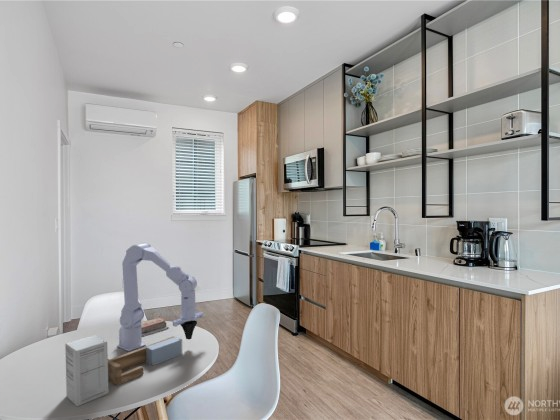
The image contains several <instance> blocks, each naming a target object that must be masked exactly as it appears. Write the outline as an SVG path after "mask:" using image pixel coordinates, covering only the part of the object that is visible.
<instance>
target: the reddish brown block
mask: <svg viewBox="0 0 560 420" xmlns="http://www.w3.org/2000/svg"><path fill="white" fill-rule="evenodd" d="M169 328H170V327H169V326H167V322H166V319H165V318H162V317H156V318H152V319H150V320H145V321H141V337H145V336H149V335H152V334H155V333H159V332H161V331H165V330H168V329H169Z"/></svg>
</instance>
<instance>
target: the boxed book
mask: <svg viewBox="0 0 560 420" xmlns="http://www.w3.org/2000/svg"><path fill="white" fill-rule="evenodd" d="M156 343H157V342H156ZM153 344H154V343H153ZM150 345H151V344H150ZM147 346H148V345H147ZM145 347H146V346H145ZM182 354H183V339H182V338H180V337H177V336H174V338H171V339H168V340H166V341H163V342H160V343H157V344H154V345H151V346H148V347H146V361H145V362H146V363H147V364H148V365H150V366H155V365H157V364H160V363H162V362H165V361H168V360H170V359H172V358H176V357H178V356H181V355H182Z"/></svg>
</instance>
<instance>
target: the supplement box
mask: <svg viewBox="0 0 560 420" xmlns="http://www.w3.org/2000/svg"><path fill="white" fill-rule="evenodd" d="M64 345H65V350H64V351H65V381H66V382H65V384H66V386H65V387H66V388H65V389H66V390H65V391H66V393H65V395H66V398H67V399H68V400H70V401H71V402H72V403H73V404H74V405H75V406H76V407H79V406H82V405H84V404H87V403H90V402H91V401H93V400H96V399H98V398H101V397H103V396H106V395H108V394H109V381H108V359H109V357H108V356H109V355H108V341H107V340H106V339H104V338H102V337H100V336H98V335H97V334H94V335H90V336H87V337H83V338H80V339H76V340H74V341H70V342H67V343H65V344H64Z"/></svg>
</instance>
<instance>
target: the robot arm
mask: <svg viewBox="0 0 560 420" xmlns="http://www.w3.org/2000/svg"><path fill="white" fill-rule="evenodd" d="M142 261H148V262H149V261H150V262H152V263H154V264H155V265H156V266H158V268H161V270H163V271H164V272H165V273H166V277H167V278H168V279H169V280H171V281H172V282H173V283H174V284H176V286H177V287H178V290H179V291H180V297H181V299H180V301H181V302H180V303H181V304H180V305H181V307H180V308H181V311H180V312H181V313H180V314H181V315H180V317H178V318H177V319H175V320H173V321H172V327H175V328H176V327H178V326H180V327H181V328H182V329H183V332H184V336H185V339H186V340H191V339H192V337H193V333H194V330H195V328H196V326H197V325H198V322H197V320H198V319H202V318H204V312H202V311H200V312H196V287H197V285H198V282H197V279H196V278H195V277H194V276H192V275H191V276H190V274H188V273H187V274H186V272H185V271H183V270H182V267H181V266H177V265H172V264H171V263H170V262H168V260H166V259H165V258H164V257H163V256H162V255H161V254H160V253H159V252H158V251H157V250H156V248H155V247H153V246H151V244H149V243H147V242H143V243H140V244H133V245H131V246H130V247H129V248H127V249H126V251H125V256H124V258H123V260H122V264H121V265H122V277H123V278H122V281H123V283H122V284H123V295H124V296H123V298H124V300H123V301H124V305H123V306H122V309H121V313H120V317H119V324H120V325H121V326H120V328H119V329H118V330H119V331H118V344H116V346H117V347H118V348H119V349H123V350H124V351H127V352H132V351H135V350H137V349H140V348H143V347H146V346H147V343H144V342H142V341H143V340H142V338H143V336H141V322H142V320H143V319H144V317H145V311H144V310H143V306H142V303H141V302H139V291H138V290H139V287H138V271H137V265H139V264H140V263H141V262H142Z"/></svg>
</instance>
